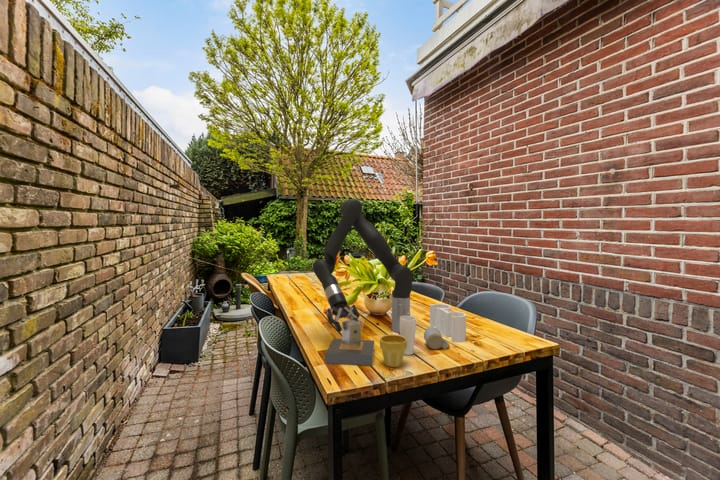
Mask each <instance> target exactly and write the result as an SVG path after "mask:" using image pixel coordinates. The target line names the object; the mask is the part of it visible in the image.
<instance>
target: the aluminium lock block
mask: <svg viewBox="0 0 720 480" xmlns="http://www.w3.org/2000/svg"><path fill="white" fill-rule="evenodd" d="M341 322H342V324H341V328H342V331H341V339H342V345H344V346H345V347H347V348H349V349H351V348H354V347H358V346H361V340H362V332H361V331H362V330H361V329H362V328H361V327H362V323H361V322H360V321H358V322H357V321H355V320H351V319H349V320H346V321H345V320H344V321H341Z"/></svg>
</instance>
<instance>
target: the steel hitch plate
mask: <svg viewBox="0 0 720 480" xmlns="http://www.w3.org/2000/svg"><path fill="white" fill-rule="evenodd" d="M374 354H375V340H373V339H372V340H371V339H370V340H369V339H368V340H367V339H361V346H358V347H354V348H351V349H349V348H347V347H345V346H344V345H342V338H332V340H331V342H330V344H329V346H328V347H327V349H326V351H325V358H324V359H325V362H324V363H325V364H332V365H333V364H334V365H349V366H350V365H351V366H353V365H354V366H366V367H367V366H370V367H372V366H373V361H374Z"/></svg>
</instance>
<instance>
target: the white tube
mask: <svg viewBox="0 0 720 480" xmlns="http://www.w3.org/2000/svg"><path fill="white" fill-rule="evenodd" d="M416 330H417V317H415V316H412V315H410V316H401V317H400V332H399V335H400V336H403V337H405V338H406V339H407V348H406V350H405V352H404V355H405V356H410V355H414V353H415V349H414V347H415V342H416V341H415V340H416Z"/></svg>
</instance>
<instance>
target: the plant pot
mask: <svg viewBox="0 0 720 480" xmlns="http://www.w3.org/2000/svg"><path fill="white" fill-rule="evenodd" d="M379 348H380V349H381V351H382V357H383V362H384V365H386V367H391V368H398V367H400V366H402V365H403V360H404V352H405V350H406V348H407V339H406V338H405V337H403V336H400V334H385V335H381V336H380V339H379Z"/></svg>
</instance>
